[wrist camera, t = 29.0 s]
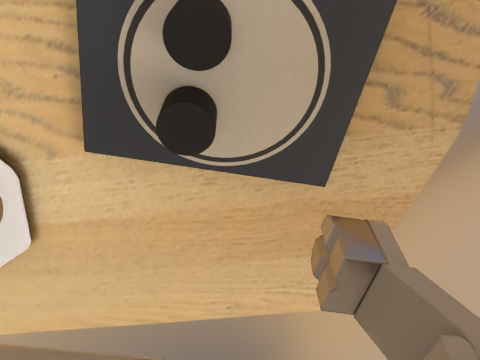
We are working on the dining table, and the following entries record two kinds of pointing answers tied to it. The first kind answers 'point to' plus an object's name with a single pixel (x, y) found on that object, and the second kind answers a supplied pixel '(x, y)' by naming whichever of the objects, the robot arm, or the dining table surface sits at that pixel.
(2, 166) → the plate
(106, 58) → the board
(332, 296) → the robot arm
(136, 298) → the dining table surface
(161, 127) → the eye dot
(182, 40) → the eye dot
